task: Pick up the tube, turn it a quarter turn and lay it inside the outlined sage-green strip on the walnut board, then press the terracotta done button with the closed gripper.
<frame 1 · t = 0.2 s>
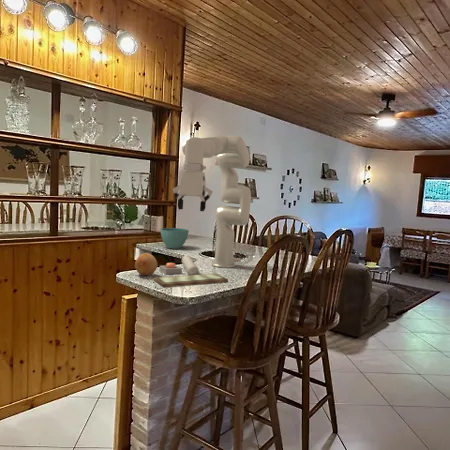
hand: (191, 210, 156), 31 cm above the worktop, tool pointing down, fingers open, 9 cm apart
button: (170, 266, 177), point 2 cm above the worktop, slide at 0.0 cm
onion: (145, 275, 169), on the worktop
tube: (189, 270, 185), on the worktop
plant pot: (173, 248, 248), on the worktop
button housing: (170, 272, 178), on the worktop
board: (191, 281, 163), on the worktop
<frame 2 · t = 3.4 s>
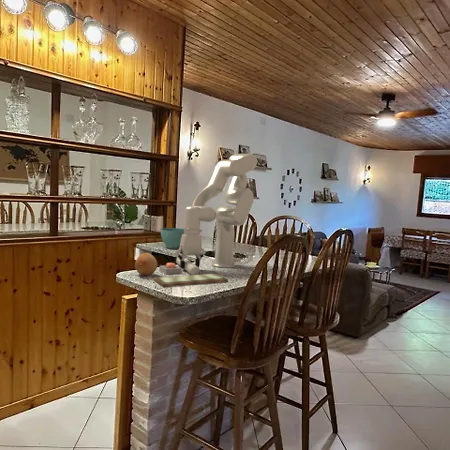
hand: (189, 267, 185), 1 cm above the worktop, tool pointing down, fingers open, 7 cm apart
tube: (187, 270, 185), on the worktop, touching gripper
everything else where it was.
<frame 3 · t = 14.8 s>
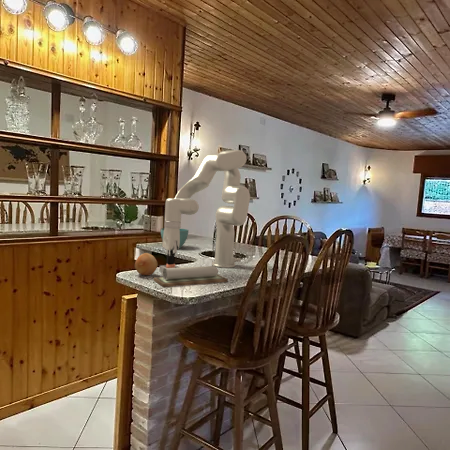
hand: (170, 263, 177), 4 cm above the worktop, tool pointing down, fingers closed
button: (170, 267, 178), point 2 cm above the worktop, slide at 0.1 cm, touching gripper
tube: (191, 278, 163), point 1 cm above the worktop, touching board
everything else where it was.
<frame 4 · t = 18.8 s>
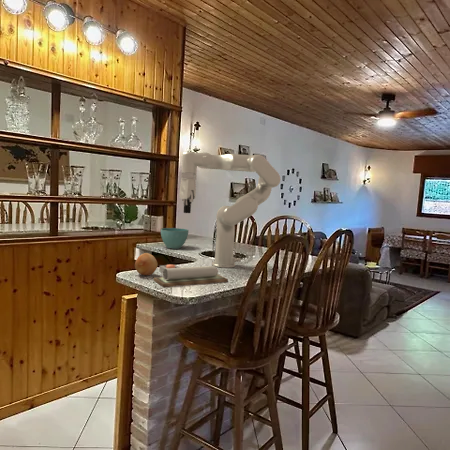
hand: (186, 212, 193), 27 cm above the worktop, tool pointing down, fingers closed
button: (170, 268, 178), point 2 cm above the worktop, slide at 0.8 cm
everything else where it was.
at the end: tube 0.4 cm from the target spot, point 1.2 cm above the worktop; button slide at 0.8 cm; the gripper is holding nothing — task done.
